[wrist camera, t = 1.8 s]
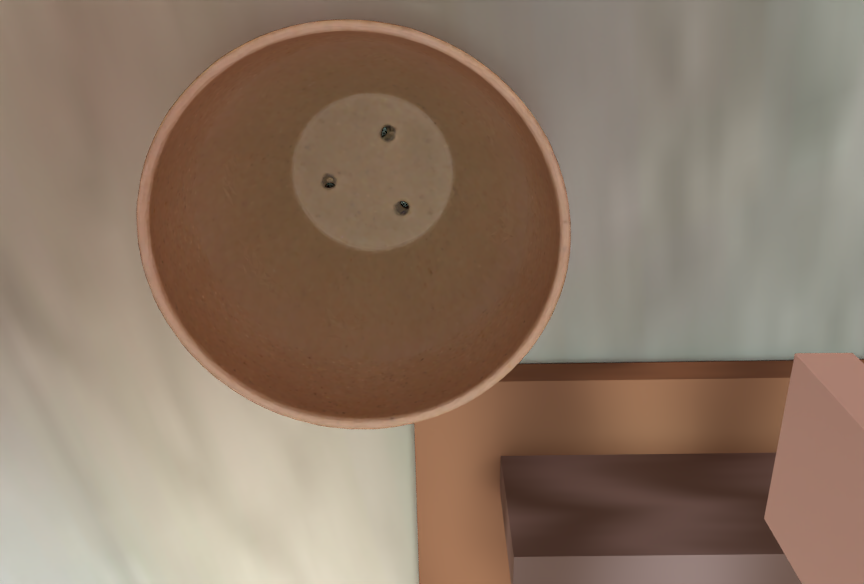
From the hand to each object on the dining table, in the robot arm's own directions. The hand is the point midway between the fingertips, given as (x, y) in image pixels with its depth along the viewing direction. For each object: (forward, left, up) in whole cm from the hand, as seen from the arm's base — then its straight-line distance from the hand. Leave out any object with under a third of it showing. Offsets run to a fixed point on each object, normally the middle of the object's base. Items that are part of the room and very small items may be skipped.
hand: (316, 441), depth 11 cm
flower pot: (0, 0, -15) cm, 15 cm away
